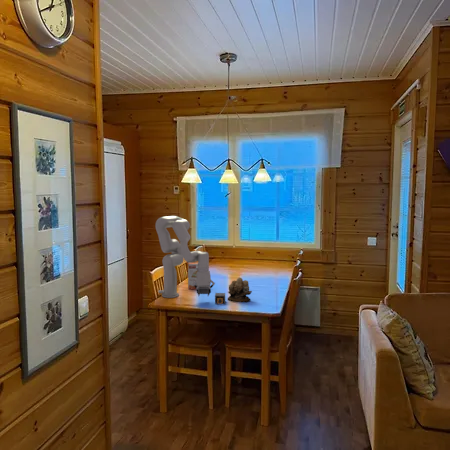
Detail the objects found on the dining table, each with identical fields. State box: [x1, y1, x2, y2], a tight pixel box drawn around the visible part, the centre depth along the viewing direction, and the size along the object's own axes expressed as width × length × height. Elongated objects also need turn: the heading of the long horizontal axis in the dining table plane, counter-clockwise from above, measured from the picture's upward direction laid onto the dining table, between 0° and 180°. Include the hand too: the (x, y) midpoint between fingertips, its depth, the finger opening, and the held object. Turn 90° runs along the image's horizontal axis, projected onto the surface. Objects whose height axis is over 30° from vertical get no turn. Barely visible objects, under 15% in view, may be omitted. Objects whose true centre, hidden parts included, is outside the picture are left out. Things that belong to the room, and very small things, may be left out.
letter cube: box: [216, 297, 224, 305], centre depth 291 cm, size 4×4×4 cm
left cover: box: [197, 286, 210, 297], centre depth 291 cm, size 7×7×6 cm
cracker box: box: [187, 262, 198, 290], centre depth 330 cm, size 14×6×21 cm, turn 101°
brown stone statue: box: [227, 276, 253, 303], centre depth 298 cm, size 18×12×17 cm, turn 75°
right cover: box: [214, 292, 226, 305], centre depth 292 cm, size 7×7×6 cm
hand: (203, 294), depth 292 cm, fingers closed on left cover, 7 cm apart
